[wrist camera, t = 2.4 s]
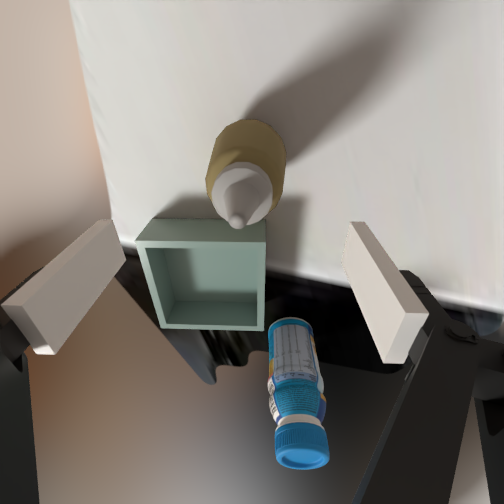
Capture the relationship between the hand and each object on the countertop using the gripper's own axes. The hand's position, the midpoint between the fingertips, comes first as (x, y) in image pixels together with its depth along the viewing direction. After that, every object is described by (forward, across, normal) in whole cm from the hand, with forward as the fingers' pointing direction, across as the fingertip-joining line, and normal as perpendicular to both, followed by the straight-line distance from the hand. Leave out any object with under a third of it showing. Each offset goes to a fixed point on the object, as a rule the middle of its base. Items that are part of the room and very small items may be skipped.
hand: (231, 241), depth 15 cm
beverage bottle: (+20, +7, -32) cm, 38 cm away
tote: (+20, -6, -17) cm, 27 cm away
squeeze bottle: (+20, 0, 0) cm, 20 cm away
